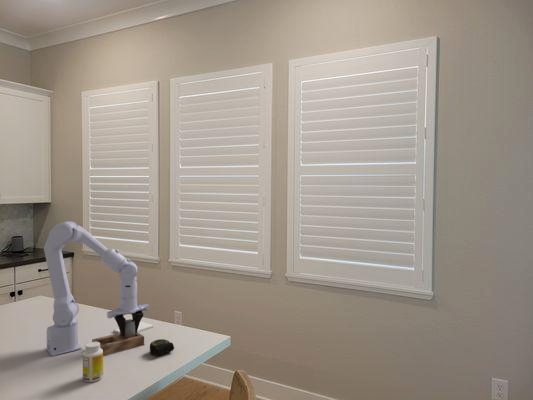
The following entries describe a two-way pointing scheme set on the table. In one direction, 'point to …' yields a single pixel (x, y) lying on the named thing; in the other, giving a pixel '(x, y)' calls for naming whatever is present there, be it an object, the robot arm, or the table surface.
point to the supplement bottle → (92, 362)
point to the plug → (129, 329)
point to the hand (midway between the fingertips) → (128, 333)
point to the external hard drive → (139, 327)
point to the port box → (118, 343)
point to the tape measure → (161, 347)
